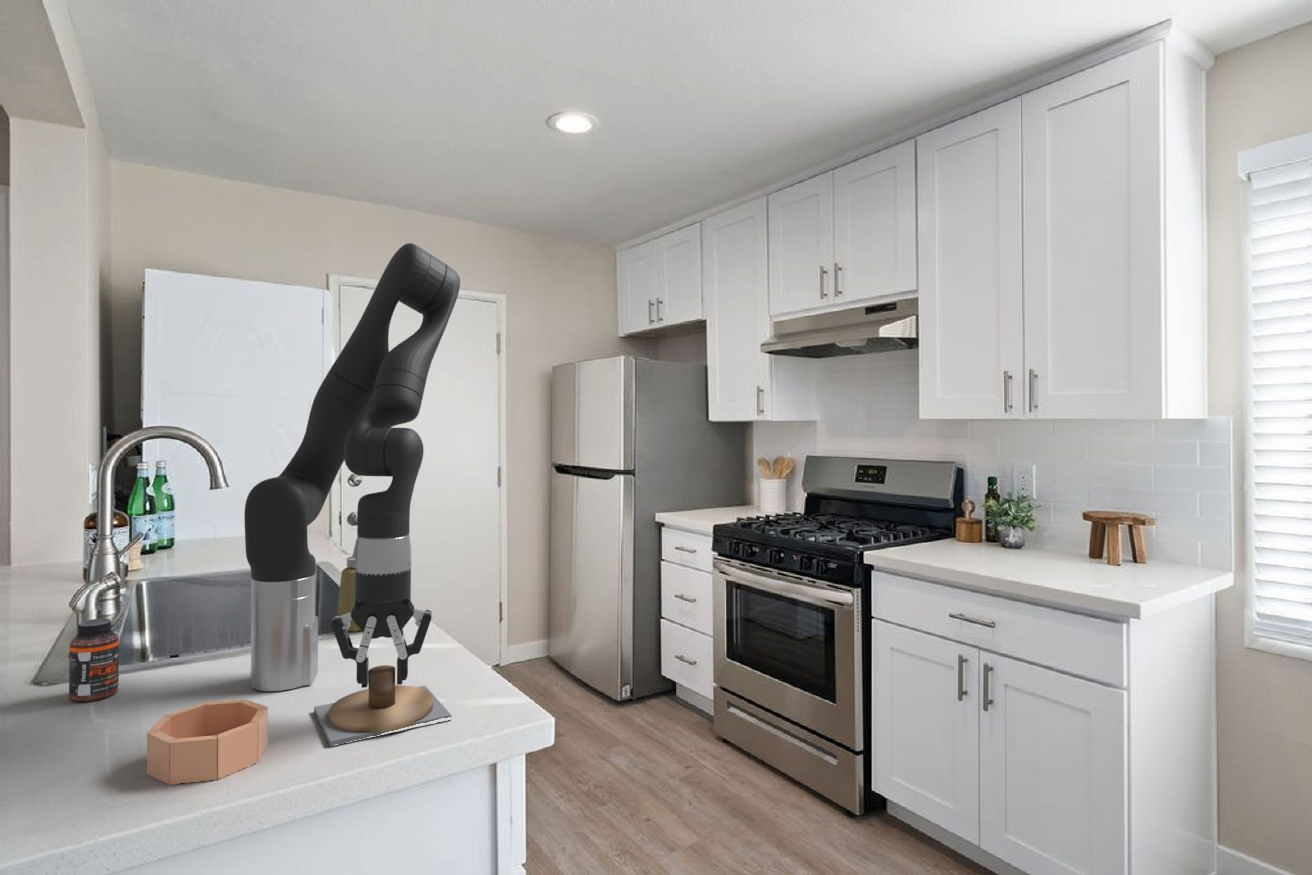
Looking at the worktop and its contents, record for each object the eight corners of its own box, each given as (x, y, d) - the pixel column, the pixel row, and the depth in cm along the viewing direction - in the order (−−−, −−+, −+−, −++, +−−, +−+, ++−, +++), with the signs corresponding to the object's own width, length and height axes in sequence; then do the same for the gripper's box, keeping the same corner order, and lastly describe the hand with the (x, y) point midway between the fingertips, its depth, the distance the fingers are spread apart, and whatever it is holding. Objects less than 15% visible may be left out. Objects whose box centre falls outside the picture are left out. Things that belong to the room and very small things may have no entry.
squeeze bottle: (353, 636, 139) (354, 544, 139) (328, 629, 144) (328, 540, 143) (388, 626, 146) (389, 539, 146) (363, 619, 151) (364, 534, 150)
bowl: (274, 733, 97) (274, 696, 97) (250, 776, 86) (250, 735, 86) (173, 742, 94) (173, 704, 94) (134, 788, 83) (134, 745, 82)
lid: (434, 689, 112) (433, 649, 112) (431, 727, 99) (431, 682, 98) (337, 698, 108) (336, 657, 108) (320, 739, 95) (320, 693, 95)
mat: (425, 690, 113) (425, 685, 113) (451, 720, 103) (451, 714, 103) (314, 712, 104) (314, 706, 104) (330, 747, 94) (330, 741, 94)
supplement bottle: (91, 705, 105) (91, 629, 105) (58, 701, 106) (57, 625, 106) (128, 690, 111) (128, 617, 111) (97, 686, 112) (96, 614, 112)
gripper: (436, 559, 108) (434, 671, 109) (333, 562, 105) (332, 678, 105) (434, 569, 101) (433, 689, 102) (324, 574, 97) (324, 698, 98)
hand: (382, 683), depth 103 cm, fingers open, 4 cm apart
